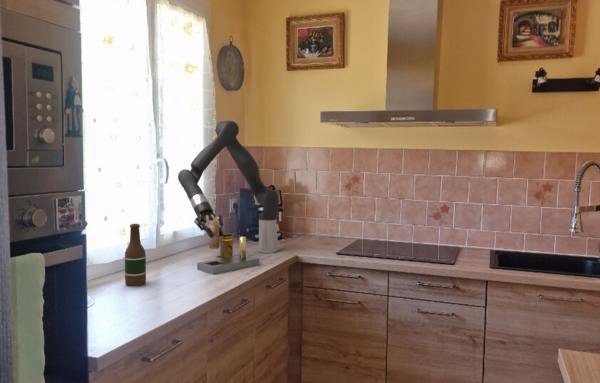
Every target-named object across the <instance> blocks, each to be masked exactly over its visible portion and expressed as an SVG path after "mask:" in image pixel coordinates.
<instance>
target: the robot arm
mask: <svg viewBox="0 0 600 383" xmlns="http://www.w3.org/2000/svg"><path fill="white" fill-rule="evenodd" d="M239 131H240V127H239V125H238V124H237V122H235V121H233V120H222V121H218V122H217V124H216V125H215V134H216V137H215V138H214V139H213V140H212V141H211V142H210V143H209V144H208V145H207V146H205V147H204V148H203V149H201V151H200V152H199V153H198V154H197V155H196V156H195V158H194V159H193V160H192V161H191V163H190V167H191V169H190V170H189V169H186V168H185V169H182V170H180V171H179V173H178V175H177V179H178V182H179V183H180V185H181V187H182V188H183V191H185V193H186V196H187V198H188V200H189V202H190V204H191V207H192V209H193V211H194V214H195V215H196V218H195V219H194V221H193V223H194V224H195V225H196V226H197V227H198V228H199V229H200V231H205V232H206V234H207V236H208V238H209V237H210V238H212V237H213V236H214V234H213V232H212V230H211V229H210V227H209V221H210V220H219V237H221V236H222V235H223V233H224V231H223V230H222V228H223V226H224V221H223V216H222V215H221V214H220V215H218V216H217V215H216V213H214V209H213V208H212V206H211V204H210V202H209V199H207V198H208V197H206V195H205V193H204V192H203V190H202V189H201V187H200V186H199V181H200V180H201V178H202V176H203V173H204V171H206V169H207V168H208V167H209V165H210V164H211V163H212V161H214V159H215V158H216V157H217V156H218V154H219V153H221V151H222V150H223V149H224V148H226V150H227V151H228V153H229V154H230V156H231V158H232V159H233V161H234V163H235V164H236V166H237V168H238V170H239V171H240V173H241V175H242V176H243V178H244V179H245V181H246V183H247V184H248V185H249V187H250V189H251V191H252V194H253V195H254V198H255V199H256V201H257V203H258V204H259V205H260V206H263V207H262V212H261V213H259V215H258V252H259V253H263V254H271V253H272V254H273V253H276V252H277V251H279V250H278V242H279V241H278V240H279V238H278V235H279V234H278V232H277V217H278V215H279V205H280V203H279V201H280V199H279V197H280V196H279V193H278V192H277V191H276V190H275V189H269V188H267V187H266V185H265V184H264V182H263V181H262V179H261V175H260V168H259V165H258V163H257V161H256V160H255V158H254V156H253V155H252V154H251V153H250V152H249V150H248V149H247V148H245V147H244V146H243V145H242V144H241V143H240V141H239V140H238V138H237V136H238V135H239Z"/></svg>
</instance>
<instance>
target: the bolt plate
mask: <svg viewBox="0 0 600 383" xmlns="http://www.w3.org/2000/svg"><path fill="white" fill-rule="evenodd" d="M238 250H239V254H238V255H232V257H227V258H221V259H218V258H216V259H211V260H206V261H201V262H197V263H196V267H197V268H196V270H197V271H201V272H203V273H204V272H205V273H207V274H210V275H216V274H217V275H218V274H222V273H223V274H224V273H226V272H231V271H236V270H243V269H246V268H251V267H257V266H259V265H260V258H257V257H253V256H250V255H247V237H246V236H239V248H238Z"/></svg>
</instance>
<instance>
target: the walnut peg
mask: <svg viewBox="0 0 600 383" xmlns="http://www.w3.org/2000/svg"><path fill="white" fill-rule="evenodd" d="M209 227H210V229H211V230H212V232H213V234H214V236H213V237H212V238H210V237H209V236H208V248H209V249H211V250H212V249H215V250H216V249H220V236H219V220H210V221H209Z"/></svg>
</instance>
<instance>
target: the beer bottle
mask: <svg viewBox="0 0 600 383" xmlns="http://www.w3.org/2000/svg"><path fill="white" fill-rule="evenodd" d="M140 228H141V225H140V223H131V224H130V225H129V229H130V234H129V235H130V236H129V244H128V246H127V247H126V250H125V251H124V283H125V286H126V287H128V286H138V287H141V285H143V286H144V285H146V280H147V261H146V260H147V257H146V250H145V248H144V246H143V245H142V243H141V234H140V232H141V231H140Z"/></svg>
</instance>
